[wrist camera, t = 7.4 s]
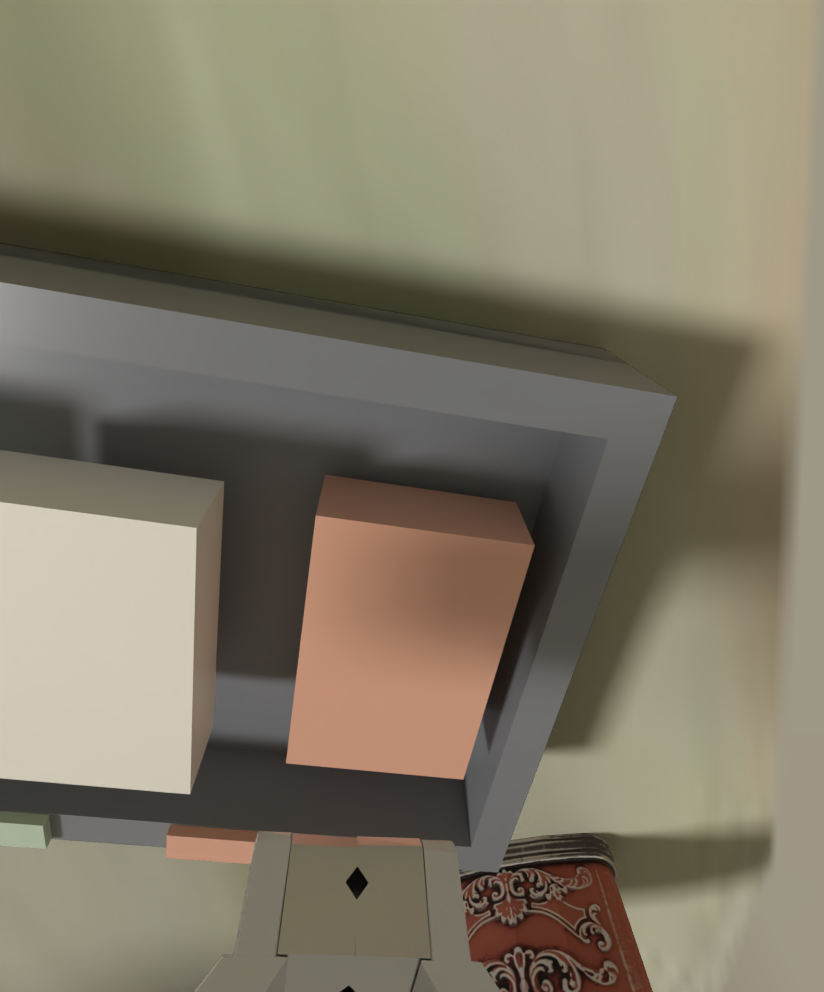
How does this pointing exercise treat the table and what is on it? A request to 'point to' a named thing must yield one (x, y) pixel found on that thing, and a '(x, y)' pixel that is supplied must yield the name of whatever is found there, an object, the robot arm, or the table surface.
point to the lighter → (553, 919)
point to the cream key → (106, 623)
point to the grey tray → (292, 510)
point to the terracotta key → (403, 626)
